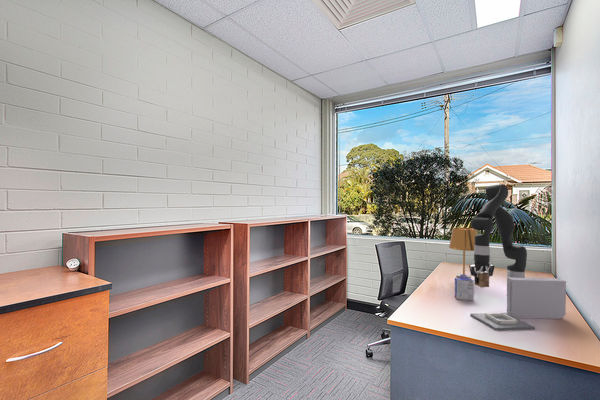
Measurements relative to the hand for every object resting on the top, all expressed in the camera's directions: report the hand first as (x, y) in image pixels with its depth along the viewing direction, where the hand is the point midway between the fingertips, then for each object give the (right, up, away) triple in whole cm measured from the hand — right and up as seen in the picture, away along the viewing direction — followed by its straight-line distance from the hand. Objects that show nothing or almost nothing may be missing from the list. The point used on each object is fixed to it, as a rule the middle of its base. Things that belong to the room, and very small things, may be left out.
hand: (481, 283), depth 167 cm
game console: (+23, -15, -8) cm, 29 cm away
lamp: (+21, -15, +56) cm, 62 cm away
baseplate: (-1, -15, -17) cm, 23 cm away
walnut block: (0, -1, 0) cm, 1 cm away
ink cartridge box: (+1, -15, +19) cm, 24 cm away
